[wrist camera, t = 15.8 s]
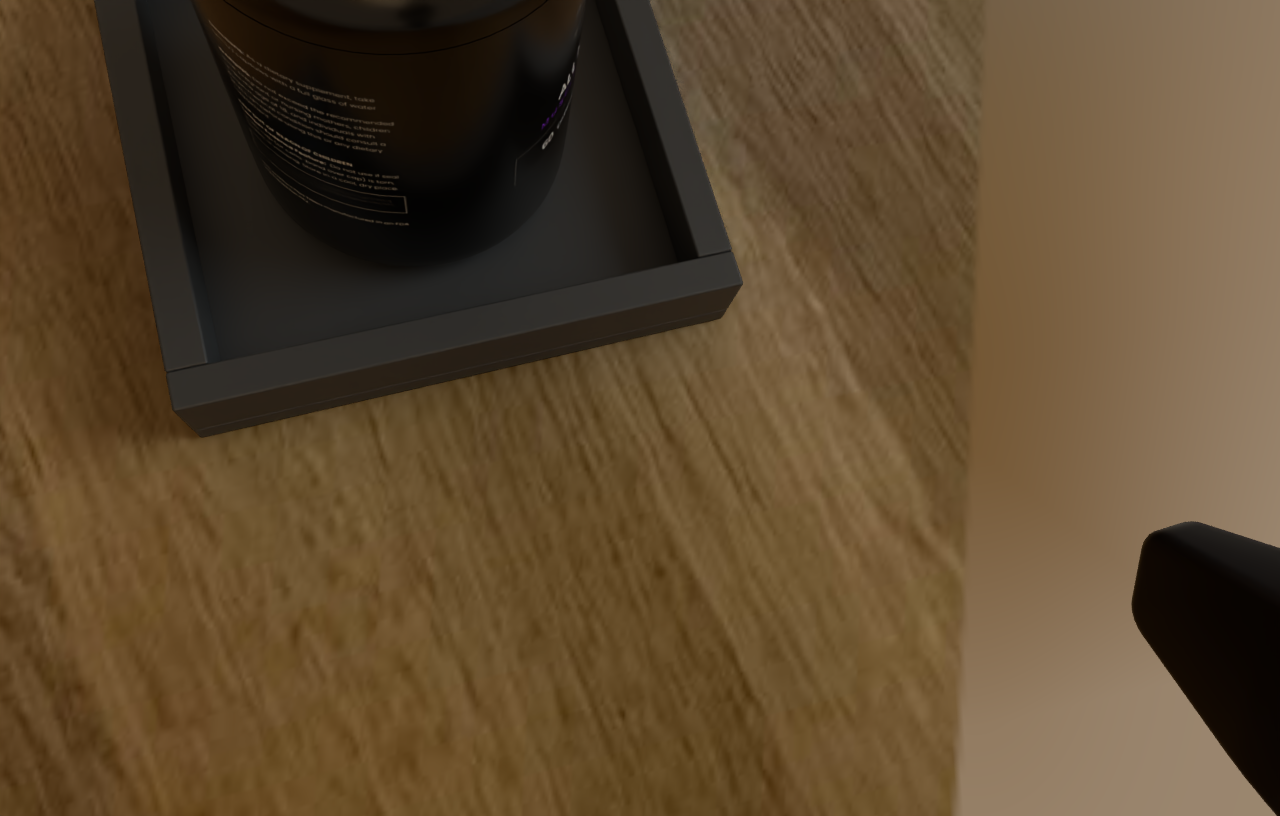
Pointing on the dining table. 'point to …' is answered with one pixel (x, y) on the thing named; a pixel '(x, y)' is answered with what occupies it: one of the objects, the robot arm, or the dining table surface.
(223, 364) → the black tray
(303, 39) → the supplement bottle
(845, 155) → the dining table surface
